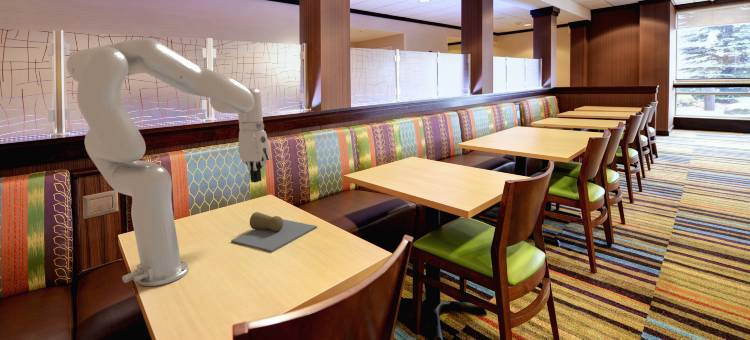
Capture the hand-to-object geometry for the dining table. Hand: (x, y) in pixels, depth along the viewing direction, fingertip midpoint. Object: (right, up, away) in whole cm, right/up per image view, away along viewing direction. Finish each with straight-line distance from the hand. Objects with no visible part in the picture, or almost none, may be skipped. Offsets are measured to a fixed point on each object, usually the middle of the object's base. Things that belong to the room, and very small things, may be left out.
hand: (256, 181), depth 134 cm
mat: (+6, -18, 0) cm, 19 cm away
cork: (-2, -14, +6) cm, 15 cm away
